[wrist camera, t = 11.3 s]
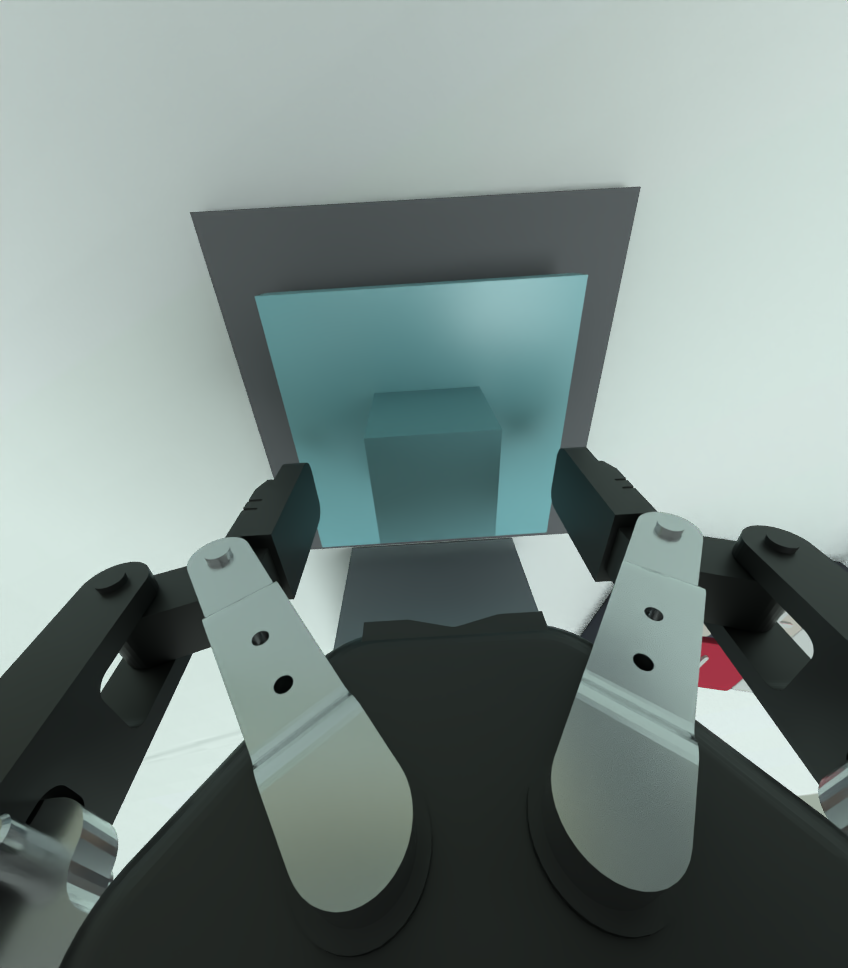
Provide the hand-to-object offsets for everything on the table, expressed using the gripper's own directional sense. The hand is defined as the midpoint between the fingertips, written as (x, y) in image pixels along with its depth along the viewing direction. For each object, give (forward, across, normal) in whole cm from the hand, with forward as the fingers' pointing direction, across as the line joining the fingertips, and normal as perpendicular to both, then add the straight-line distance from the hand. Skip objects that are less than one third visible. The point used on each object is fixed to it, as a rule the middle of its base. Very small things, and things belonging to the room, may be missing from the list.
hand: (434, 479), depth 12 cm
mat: (+7, 0, 0) cm, 7 cm away
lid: (+6, 0, 0) cm, 6 cm away
